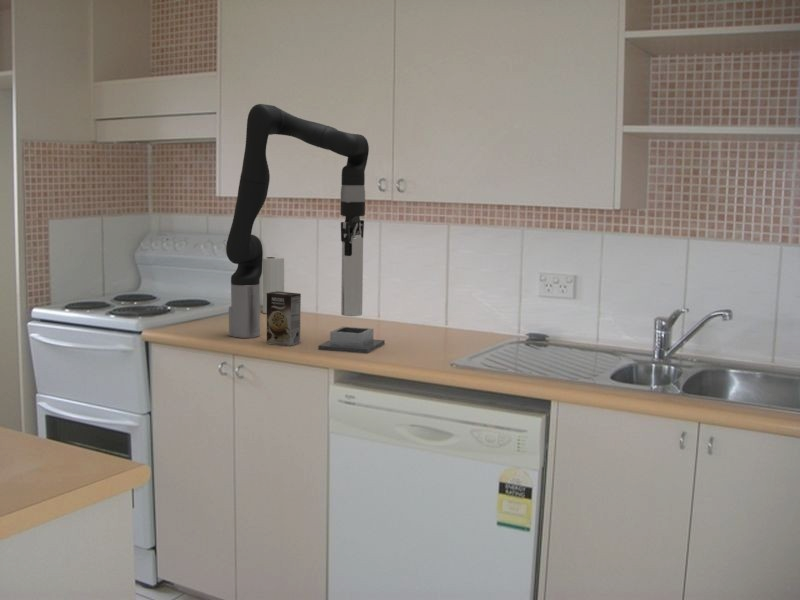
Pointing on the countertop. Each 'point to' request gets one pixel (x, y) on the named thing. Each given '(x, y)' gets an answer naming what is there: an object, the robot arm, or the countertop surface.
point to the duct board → (352, 340)
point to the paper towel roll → (272, 277)
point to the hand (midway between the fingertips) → (352, 254)
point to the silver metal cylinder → (352, 279)
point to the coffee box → (283, 318)
